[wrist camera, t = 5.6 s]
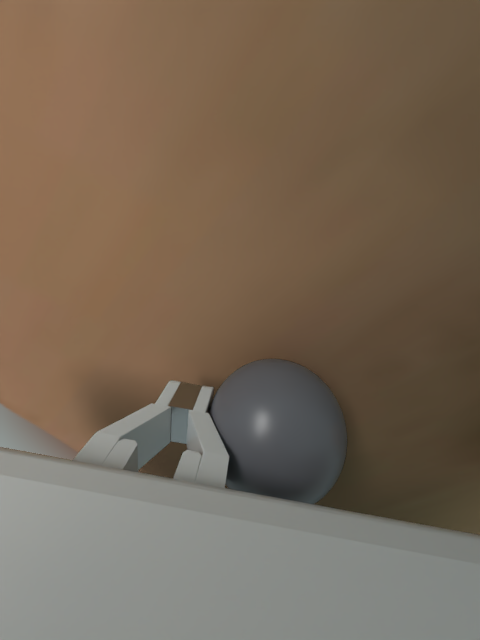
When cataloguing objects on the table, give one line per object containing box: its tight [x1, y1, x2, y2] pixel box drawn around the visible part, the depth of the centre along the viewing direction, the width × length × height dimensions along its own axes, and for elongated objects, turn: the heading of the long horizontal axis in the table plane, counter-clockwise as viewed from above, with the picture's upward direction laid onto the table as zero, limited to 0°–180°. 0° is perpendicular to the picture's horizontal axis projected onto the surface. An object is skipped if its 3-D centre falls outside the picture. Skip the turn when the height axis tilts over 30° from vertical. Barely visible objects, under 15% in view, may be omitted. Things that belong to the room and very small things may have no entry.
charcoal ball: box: [209, 359, 347, 504], centre depth 9 cm, size 6×6×6 cm
